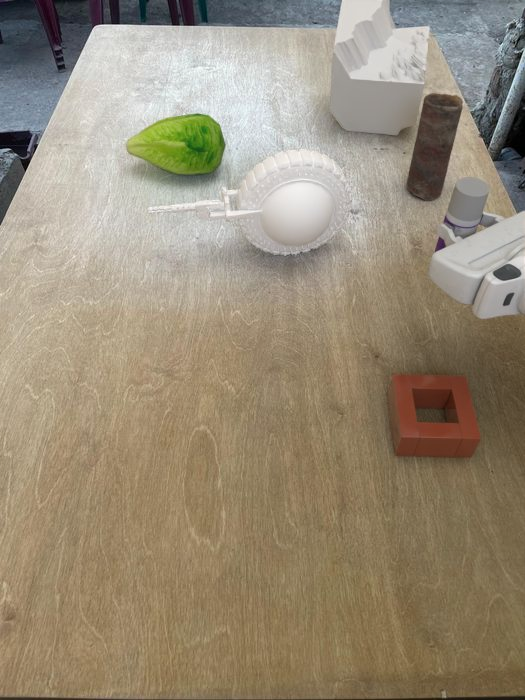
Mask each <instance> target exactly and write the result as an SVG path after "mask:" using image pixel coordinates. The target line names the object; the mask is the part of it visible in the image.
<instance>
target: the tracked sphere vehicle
mask: <svg viewBox="0 0 525 700" xmlns="http://www.w3.org/2000/svg"><path fill="white" fill-rule="evenodd" d="M252 168H253V169H250V170H249V171H248V172H247V173H246V175H245V178H243V179H242V181H241V183H240V185H239V188H238V189H228V188H227V186H222V187H221V190H220V195H221V200H220V199H218V198H217V199H205V200H196V201H195V202H184V203H174V204H171V205H159V206H157V205H154V206H149V207H147V214H149V215H154V214H155V215H158V214H163V213H164V214H167V213H187V212H194V211H195V212H196V218H197V220H201V221H209V220H210V221H222V220H225V223H230V222H231V221H232V220H238V223H239V227H240V230H241V233H242V234H243V237H245V239H246V240H247V241H248V242H249V243H250V244H251V245H252V246H254V247H255V249H257V250H258V249H260V251H262V252H263V253H269V254H272V255H274V256H279V255H280V256H284V257H287V256H290V255H291V256H297V255H300V254H301V253H302V254H308V253H309V252H311V251H312V250H315V249H316V250H318V249H319V247H322V245H325V244H328V242H329V241H331V239H333V238H334V237H337V234H338V233H339V231H341V230H342V229H344V226H345V224H346V222H347V220H349V216H350V213H351V210H352V205H353V204H352V202H353V196H352V195H353V194H352V190H351V187H350V184H349V182H348V180H347V177H346V175H345V173H344V171H343V169H342V168H341V167H340V165H339V164H338V163H337V161H335V160H334V159H333V158H331V157H329V156H328V155H326V154H325V153H321V151H316V150H309V149H305V148H302V149H301V148H299V149H297V148H295V149H292V148H290V149H288V150H286V152H285V151H284V150H283V151H278V152H277V153H274V156H273V155H270V156H266V158H264V159H262V161H260V162H258V163H256V165H254V166H253V167H252ZM233 198H235V210H231V203H230V199H233Z"/></svg>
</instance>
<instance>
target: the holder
mask: <svg viewBox="0 0 525 700" xmlns="http://www.w3.org/2000/svg"><path fill="white" fill-rule="evenodd" d="M391 374H392V373H391ZM386 399H387V407H388V414H389V421H390V422H389V423H390V429H391V436H392V444H393V451H394V456H395V457H425V458H426V457H429V458H472V457H473V455H474V454H475V452H476V450H477V448H478V446H479V444H480V442H481V440H482V436H481V432H480V429H479V428H480V427H479V424H478V419H477V416H476V412H475V408H474V404H473V399H472V395H471V391H470V387H469V383H468V379H467V376H466V375H444V374H443V375H442V374H441V375H440V374H439V375H438V374H437V375H436V374H402V373H401V374H399V373H398V374H396V373H394V374H392V375H391V377H390V381H389V384H388V389H387V392H386ZM416 409H429V410H430V409H431V410H444V416H445V420H446V422H429V421H428V422H427V421H426V422H423V421H418V418H417V411H416Z"/></svg>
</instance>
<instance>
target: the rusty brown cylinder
mask: <svg viewBox="0 0 525 700" xmlns="http://www.w3.org/2000/svg"><path fill="white" fill-rule="evenodd" d="M463 102H464V101H463V99H462V98H461V97H460V96H459V95H457V94H454V95H452V94H448V93H435V92H430V93H429V94H426V96H424V97H423V102H422V108H421V112H420V117H419V123H418V128H417V133H416V137H415V142H414V146H413V151H412V154H411V155H412V156H411V159H410V166H409V170H408V175H407V179H406V180H407V181H406V186H407V189H408V190H409V191H410V192H411V193H412V195H413V196H416V197H417V198H420V199H422V200H423V201H427V202H429V201H433V200H435V199H436V198H439V197H440V196H441V194H442V192H443V189H444V185H445V181H446V177H447V173H448V169H449V164H450V160H451V155H452V151H453V147H454V144H455V140H456V136H457V132H458V127H459V124H460V120H461V116H462V111H463V106H464V105H463Z"/></svg>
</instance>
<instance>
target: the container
mask: <svg viewBox="0 0 525 700" xmlns="http://www.w3.org/2000/svg"><path fill="white" fill-rule="evenodd" d="M490 191H491V187H490V185H489V184H488V183H487V182H486V181H485V180H482V179H481V178H477V177H472V176H465V177H460V178H458V179H457V180H456V182H455V184H454V187H453V191H452V193H451V196H450V200H449V203H448V206H447V208H446V212H445V215H444V218H443V221H442V223H444V222H447V221H448V222H449V223H450V224H452V225H454V226H455V230H454V232H453V233H454V235H455V237H457V236H460V237H461V238H462V239H465V238H467V237H469V236H471V235H473V234H475V233H477V232H478V228H479V226H480V225H479V223H480V219H481V216H482V213H483V211H484V210H485V207H486V203H487V200H488V196H489V194H490ZM445 247H446V245H445V242H444V240H443V239H442V238H441V237H439V236H438V239H437V241H436V245H435V249H434V252H433V254H434V253H435V252H437V251H439V250H441V249H443V248H445Z"/></svg>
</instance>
